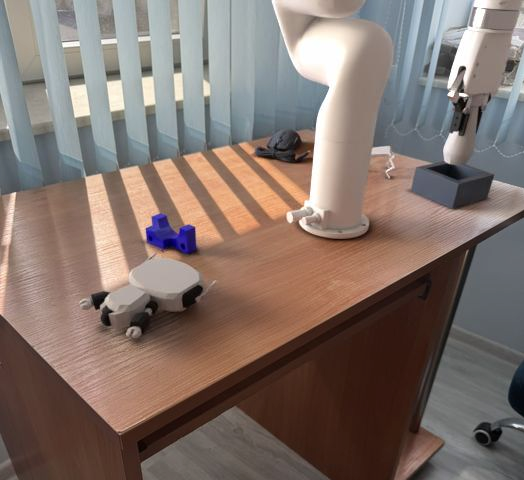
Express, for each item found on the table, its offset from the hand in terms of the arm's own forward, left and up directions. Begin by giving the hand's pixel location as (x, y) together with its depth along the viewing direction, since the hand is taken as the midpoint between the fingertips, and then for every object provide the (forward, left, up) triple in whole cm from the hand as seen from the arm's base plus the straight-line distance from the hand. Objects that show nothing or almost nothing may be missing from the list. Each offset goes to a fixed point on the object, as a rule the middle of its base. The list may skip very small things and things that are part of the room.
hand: (462, 132), depth 100 cm
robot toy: (-70, -9, -13) cm, 72 cm away
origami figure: (-2, +17, -13) cm, 22 cm away
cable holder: (-59, +7, -13) cm, 61 cm away
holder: (+1, 0, -13) cm, 13 cm away
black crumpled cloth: (-11, +39, -13) cm, 43 cm away
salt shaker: (0, 0, -6) cm, 6 cm away
